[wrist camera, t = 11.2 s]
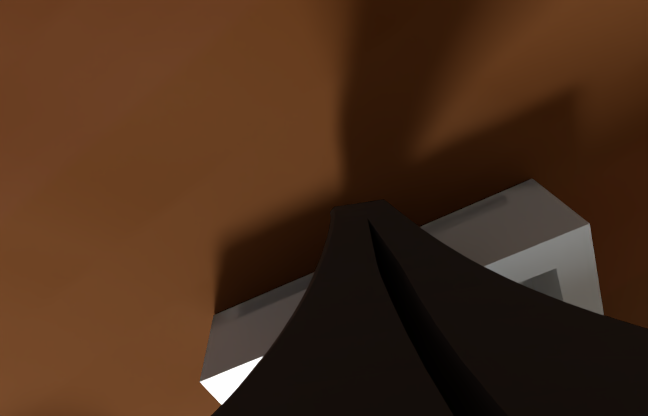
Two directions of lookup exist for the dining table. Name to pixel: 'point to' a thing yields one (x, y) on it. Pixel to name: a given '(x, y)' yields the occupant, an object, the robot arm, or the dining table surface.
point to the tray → (459, 234)
